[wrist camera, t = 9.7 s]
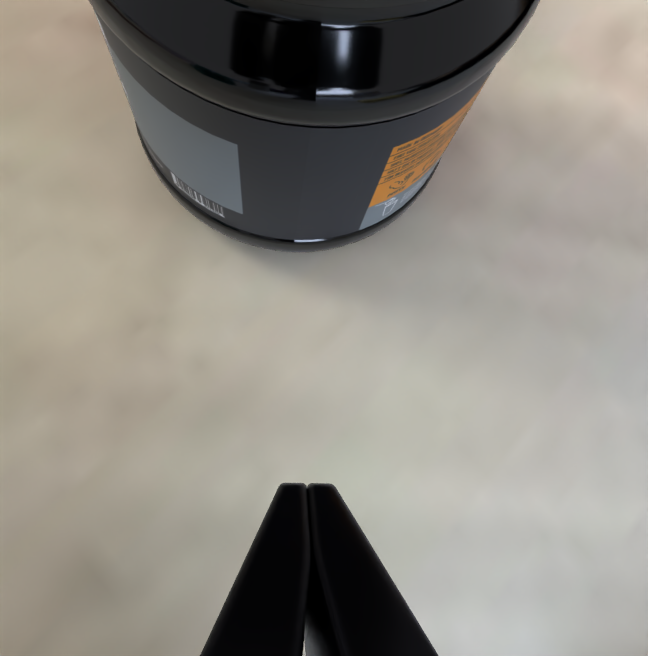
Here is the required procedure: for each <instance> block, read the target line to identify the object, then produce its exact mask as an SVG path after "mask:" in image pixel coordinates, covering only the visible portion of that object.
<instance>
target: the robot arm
mask: <svg viewBox="0 0 648 656" xmlns="http://www.w3.org/2000/svg"><path fill="white" fill-rule="evenodd" d="M304 642H305V652H306V656H438V654H437V652H436V651H435V649H434V648H433V646H432V644H431V643H430V641H429V639H428V638H427V636H426V634H425V633H424V631H423V629H422V628H421V626H420V625H419V623H418V621H417V620H416V618H415V616H414V615H413V613H412V611H411V610H410V608H409V607H408V605H407V603H406V602H405V600H404V598H403V597H402V595H401V593H400V592H399V590H398V589H397V587H396V585H395V584H394V582H393V580H392V579H391V577H390V575H389V574H388V572H387V571H386V569H385V567H384V566H383V564H382V562H381V561H380V559H379V557H378V556H377V554H376V553H375V551H374V549H373V548H372V546H371V544H370V543H369V541H368V539H367V538H366V536H365V535H364V533H363V531H362V530H361V528H360V526H359V525H358V523H357V521H356V520H355V518H354V517H353V515H352V513H351V512H350V510H349V508H348V507H347V505H346V503H345V502H344V500H343V499H342V497H341V495H340V494H339V492H338V490H337V489H336V487H335V486H334V485H332V484H325V483H311V484H309V485H308V486H307V487H306V485H305V484H304V483H282V484H281V485H280V486H279V487H278V489H277V492H276V494H275V496H274V498H273V500H272V502H271V504H270V507H269V509H268V511H267V513H266V515H265V517H264V519H263V522H262V524H261V526H260V528H259V530H258V532H257V534H256V537H255V539H254V541H253V543H252V545H251V547H250V549H249V552H248V554H247V556H246V558H245V560H244V562H243V565H242V567H241V569H240V571H239V573H238V575H237V577H236V580H235V582H234V584H233V586H232V588H231V590H230V592H229V595H228V597H227V599H226V601H225V603H224V605H223V607H222V610H221V612H220V614H219V616H218V618H217V620H216V623H215V625H214V627H213V629H212V631H211V633H210V635H209V638H208V640H207V642H206V644H205V646H204V648H203V650H202V653H201V655H200V656H302V653H303V643H304Z"/></svg>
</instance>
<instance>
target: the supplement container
mask: <svg viewBox="0 0 648 656" xmlns="http://www.w3.org/2000/svg"><path fill="white" fill-rule="evenodd" d="M89 2H90V4H91V5H92V7H93V9H94V12H95V15H96V17H97V20H98V23H99V25H100V28H101V30H102V33H103V36H104V38H105V41H106V44H107V46H108V49H109V52H110V54H111V57H112V59H113V62H114V65H115V67H116V70H117V73H118V75H119V78H120V81H121V83H122V86H123V88H124V91H125V94H126V96H127V99H128V102H129V104H130V107H131V110H132V112H133V115H134V118H135V123H136V127H137V132H138V135H139V137H140V140H141V143H142V146H143V149H144V151H145V153H146V155H147V158H148V160H149V162H150V164H151V166H152V168H153V170H154V171H155V173H156V174H157V176H158V177H159V179H160V181H161V182H162V183H163V185H164V186H165V187H166V188H167V190H168V191H169V192H170V193H171V195H172V196H173V197H174V198H175V199H176V200H177V201H178V202H179V203H180V204H181V205H182V206H183V207H184V208H185V209H186V210H188V211H189V212H190V213H191V214H192V215H194V216H195V217H196V218H197V219H199V220H200V221H202V222H203V223H205V224H206V225H208V226H209V227H211V228H212V229H214V230H216V231H218V232H220V233H222V234H224V235H226V236H228V237H230V238H232V239H235V240H237V241H240V242H242V243H245V244H249V245H252V246H256V247H259V248H264V249H270V250H275V251H285V252H314V251H323V250H329V249H333V248H338V247H342V246H345V245H348V244H351V243H354V242H357V241H359V240H362V239H364V238H366V237H368V236H371V235H373V234H374V233H376V232H378V231H380V230H381V229H383V228H385V227H386V226H388V225H389V224H390V223H392V222H393V221H394V220H396V219H397V218H398V217H399V216H401V215H402V214H403V213H404V212H405V211H406V210H407V209H408V208H409V207H410V206H411V205H412V204H413V203H414V201H415V200H416V199H417V198H418V197H419V196H420V194H421V193H422V192H423V190H424V189H425V187H426V186H427V184H428V182H429V181H430V179H431V178H432V176H433V174H434V172H435V170H436V168H437V166H438V164H439V161H440V159H441V156H442V154H443V153H444V151H445V149H446V148H447V146H448V144H449V143H450V141H451V139H452V138H453V136H454V134H455V133H456V131H457V129H458V127H459V126H460V124H461V122H462V121H463V119H464V117H465V116H466V114H467V112H468V111H469V109H470V107H471V106H472V104H473V102H474V101H475V99H476V97H477V96H478V94H479V92H480V91H481V89H482V87H483V85H484V84H485V82H486V80H487V79H488V77H489V75H490V74H491V72H492V70H493V69H494V67H495V65H496V64H497V63H498V62H499V61H500V60H501V58H502V57H503V56H504V55H505V54H506V53H507V52H508V50H509V49H510V48H511V47H512V46H513V45H514V43H515V42H516V40H517V39H518V37H519V36H520V34H521V33H522V31H523V30H524V28H525V27H526V25H527V24H528V22H529V21H530V19H531V17H532V16H533V14H534V12H535V10H536V8H537V6H538V4H539V2H540V0H89Z"/></svg>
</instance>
